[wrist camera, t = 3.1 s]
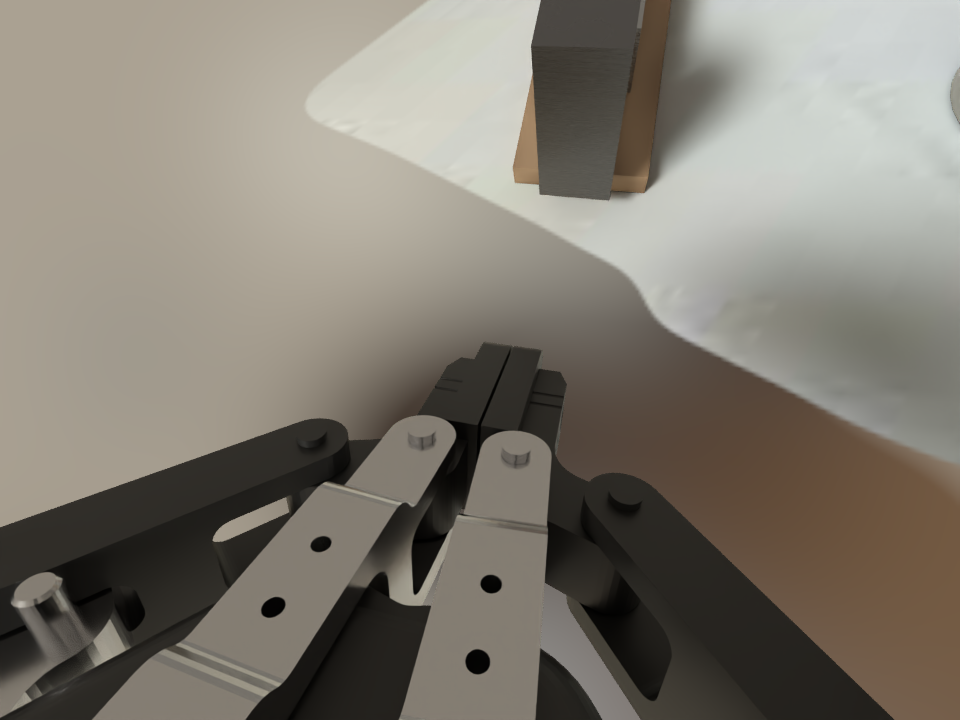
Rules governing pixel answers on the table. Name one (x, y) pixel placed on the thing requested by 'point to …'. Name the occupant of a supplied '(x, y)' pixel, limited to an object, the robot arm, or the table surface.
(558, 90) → the brushed grey metal block
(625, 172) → the guide board
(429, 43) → the table surface
